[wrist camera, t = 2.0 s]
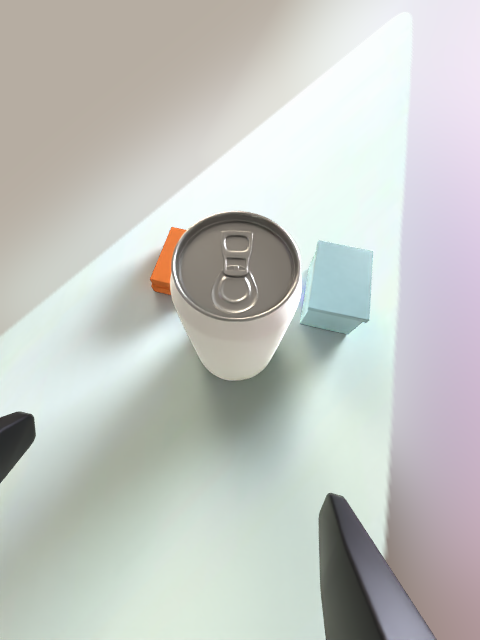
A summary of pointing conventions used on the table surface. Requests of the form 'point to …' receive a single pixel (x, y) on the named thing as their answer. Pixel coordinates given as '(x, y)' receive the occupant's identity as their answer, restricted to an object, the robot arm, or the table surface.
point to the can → (235, 290)
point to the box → (338, 288)
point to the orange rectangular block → (165, 263)
